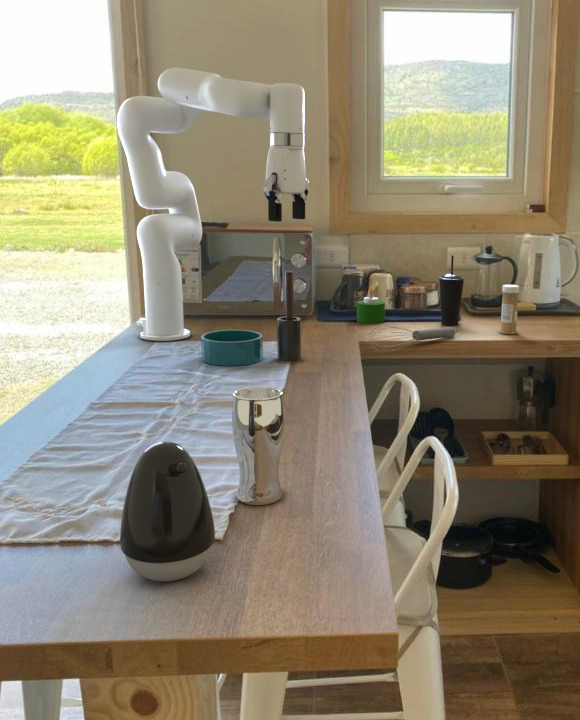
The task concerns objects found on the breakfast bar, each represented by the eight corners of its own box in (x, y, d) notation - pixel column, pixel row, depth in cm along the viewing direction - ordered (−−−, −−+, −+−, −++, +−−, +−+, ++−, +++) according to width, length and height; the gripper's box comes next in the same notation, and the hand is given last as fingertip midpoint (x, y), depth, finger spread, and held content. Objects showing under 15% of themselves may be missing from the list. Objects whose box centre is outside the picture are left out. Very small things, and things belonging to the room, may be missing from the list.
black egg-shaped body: (141, 604, 84) (133, 467, 80) (110, 564, 92) (101, 438, 88) (231, 577, 90) (228, 448, 86) (194, 541, 98) (190, 422, 94)
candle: (380, 324, 233) (381, 290, 231) (353, 322, 235) (353, 288, 233) (387, 319, 241) (388, 286, 239) (360, 317, 243) (361, 284, 241)
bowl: (189, 363, 183) (188, 337, 182) (226, 351, 196) (225, 327, 194) (239, 371, 178) (238, 344, 176) (274, 358, 190) (274, 333, 188)
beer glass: (224, 495, 111) (221, 391, 108) (265, 483, 116) (263, 382, 113) (253, 511, 107) (251, 403, 103) (295, 497, 111) (294, 393, 108)
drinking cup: (450, 320, 241) (452, 253, 237) (468, 324, 236) (471, 256, 231) (431, 323, 236) (433, 254, 232) (449, 327, 231) (452, 257, 226)
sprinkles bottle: (519, 333, 224) (522, 285, 221) (507, 335, 222) (510, 287, 218) (508, 330, 228) (511, 283, 225) (496, 332, 225) (499, 284, 222)
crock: (273, 361, 187) (272, 319, 185) (285, 356, 192) (285, 315, 189) (292, 364, 185) (292, 321, 182) (305, 359, 189) (305, 317, 187)
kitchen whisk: (465, 337, 218) (466, 314, 216) (378, 357, 194) (378, 331, 193) (448, 333, 222) (449, 311, 220) (360, 352, 198) (360, 327, 197)
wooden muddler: (283, 358, 188) (282, 271, 183) (287, 357, 189) (286, 270, 184) (292, 360, 187) (291, 272, 182) (296, 358, 188) (295, 271, 183)
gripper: (294, 143, 188) (293, 217, 192) (250, 140, 173) (251, 221, 177) (321, 143, 185) (321, 219, 189) (279, 141, 169) (279, 223, 174)
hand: (287, 220), depth 183 cm, fingers open, 9 cm apart
